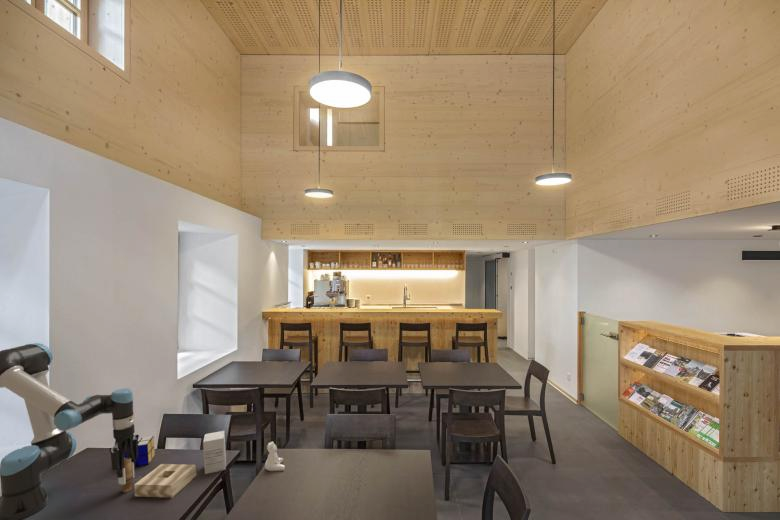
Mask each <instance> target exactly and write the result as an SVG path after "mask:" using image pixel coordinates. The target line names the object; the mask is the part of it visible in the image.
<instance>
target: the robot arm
mask: <svg viewBox="0 0 780 520" xmlns="http://www.w3.org/2000/svg"><path fill="white" fill-rule="evenodd" d="M53 357H54V355H53V352H52V351H51V349H50V348H49V347H48V346H47V345H44V344H43V343H39V342H38V343H37V342H36V343H29V344H25V345H20V346H16V347H12V348H6V349H3V350H0V389H2V388H5V389H7V390H9V391H10V392H12V393H13V394H15V395H17V396H18V397H21V398H22V399H23V400H24V404H25V407H26V411H27V414H28V415H27V416H28V418H29V421H30V426H31V430H32V432H33V436H34V437H33V438H32V440H31V441H30V444H31V445H26V446H23V447H21V448H17V449H15V450H13V451H11V452H8V453H7V454H6V455H5V456H4V457H3V458H2V459H1V461H0V488H1V489H0V490H1V491H0V494H1V498H0V520H22V519H25V518H28V517H30V516H33V515H34V514H36V513H38V512H41V510H43V509H44V508H45V507H46V506H47V505H48V503H49V496H48V494H47V492H46V490H45V488H44V487H43V485H42V474H45V473H47V472H49V471H50V470H51V469H52V470H53V468H56V467H58V466H59V465H61V464H63V463H64V462H65V461H67V460H69V459H70V458H71V457H72V456H73V455H74V453H75V451H76V450H77V439H76V437H75V436H74V434H72V433H71V432H67V431H68V430H71V429H73V428H76V427H78V426H79V425H81V424H83V423H85V422H87V421H89V420H92V419H94V418H95V417H97V416H99V415H103V414H105V415H106V414H107V415H108V414H111V416H112V428H113V430H112V433H113V434H112V435H113V438H114V440H115V442H114V445H113V446H112V447H110V448H108V449H109V453H110V460H111V470H112V471H115V472H116V474H117V477H116V478H118V479H117V480H118V485H121V484H126V476H125V468H123V466H124V459H125V457H124V456H125V452H126V454H127V458H131V464H132V479H134V478H136V477H135V468H136V467H135V462H136V461H137V459H136V458H138V438H140V435H139V434H134V433H135V419H134V418H135V417H134V416H135V415H134V397H133V391H132V389H131V388H120V389H116V390H113V391H112V392H111V393H110V394H94V395H89V396H87V397H86V398H85V399H84V400H83V402H80V403H79V404H77V403H76V402H75V401H72V400H71V399H70V398H68V397H66V396H64V395H63V394H61V393H60V392H58V391H57V390H55V389H53V388H51V387H50V385H49V382H48V379H47V374H48V372H49V371H50V368H49V366H50V365H51V363H52V361H53V360H54V359H53ZM134 454H135V455H134Z"/></svg>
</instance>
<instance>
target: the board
mask: <svg viewBox="0 0 780 520" xmlns="http://www.w3.org/2000/svg"><path fill="white" fill-rule="evenodd" d="M196 477H197V464H185V463H184V464H183V463H182V464H180V463H179V464H174V463H160V464H159V465H158V466H157V467H156V468H154V469H153V470H152V471H150V472H149V473H147V474H146V475H145V476H144V477H142V478H141V479H139V480H138V481H137V482H136V483H133V485H134V497H138V498H139V497H143V498H144V497H145V498H172V499H173V498H174V497H175V496H176V495H177V494H178V493H179V492H180V491H181V490H183V489H184V488H185V487H186V486H187V485H188V484H189V483H191V481H192V480H193V479H195V478H196Z"/></svg>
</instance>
